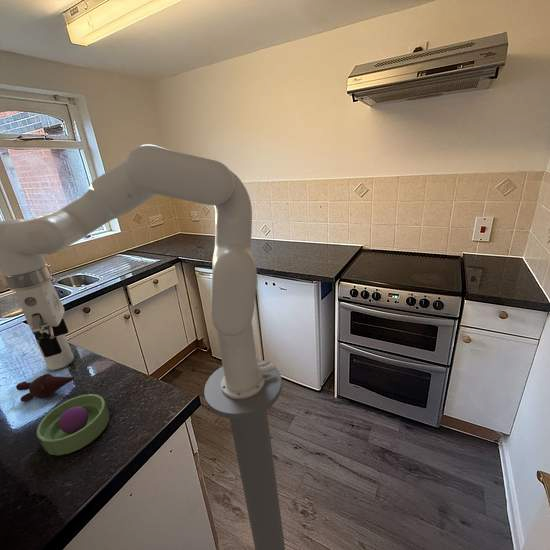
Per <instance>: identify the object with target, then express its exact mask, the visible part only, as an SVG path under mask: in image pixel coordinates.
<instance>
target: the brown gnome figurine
mask: <svg viewBox="0 0 550 550" xmlns="http://www.w3.org/2000/svg"><path fill="white" fill-rule="evenodd" d="M73 380H75V377H73V376H55V375H51V373H44V374H43V375H39V376H38V377H36V378H35V379H34V380H32V381H31V382H27V381H22V382H19V383H17V384H16V386H15V388H16V390H17V391H20V392H21V391H29V392H28V393H24V395H22V396H20V402H22V403H26V402H29V401H31V400H33V399H34V398H36V399H46V398H47V399H48V398H51V397H53V396H54V394H55V392H56V391H58V390H60V389H61V388H62V387H64V386H65V385H67V384H69V383H70V382H72V381H73Z"/></svg>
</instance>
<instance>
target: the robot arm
mask: <svg viewBox="0 0 550 550" xmlns="http://www.w3.org/2000/svg"><path fill="white" fill-rule="evenodd" d="M157 195H159V196H163V197H166V198H171V199H177V200H182V201H185V202H192V203H196V204H201V205H207V206H213V207H214V211H215V213H214V214H215V218H214V219H215V222H214V226H215V232H214V233H215V234H214V235H215V236H214V248H213V249H214V250H213V254H212V261H211V264H212V265H211V267H212V281H211V283H212V284H211V292H210V296H209V297H210V299H209V306H210V308H209V309H210V320H211V324H212V326H213V327H214V328H215V331H216V338H217V343H218V344H217V345H218V348H219V354H220V358H221V364H222V366H223V370H224V375H225V376H224V377H223V378H222V381H221V389H222V392H223V393H224V394H225V395H226V396H228V397H229V398H233V399H245V398H249V397H251V396H253V395H255V394H257V393H258V392H259V391H260V390H261V389H262V388H263V386H264V383H265V377H264V375H265V373H266V372H270V371H273V370H274V366H275V365H274V363H271V364H269V365H267V363H266V361H267V360H264V362H262V363H259V364H258V363H257V359H258V358H257V352H256V344H255V338H254V328H253V323H252V321H253V317H254V312H255V303H256V291H257V282H258V270H257V264H256V260H255V258H254V256H253V253H252V236H253V235H252V233H253V232H252V230H253V229H252V228H253V225H252V224H253V207H252V202H251V198H250V194H249V192H248V190H247V188H246V185H244V183H243V181H242V180H241V179H240V177H239V176H238V175H237V174H235V172H233V171H232V170H231V169H230V168H229V167H228V166H227V165H225V164H224V163H223V162H221V161H219V160H215V159H210V158H206V157H201V156H197V155H193V154H188V153H185V152H181V151H178V150H177V151H176V150H173V149H169V148H165V147H162V146H159V145H156V144H151V143H147V144H141V145H139V146H136V147H135V148H134V149H132V150H131V151H130V152H129V154H128V156H127V158H126V160H124V161H122V162H121V163H119V164H117V165H116V166H115V167H113V168H111V169H110V170H107V171H106V172H104V173H103V174H101V175H99V176H98V177H96V178H95V179H94V180H92V182H91V183H90V186H89V189H88V190H87V191H86V192H85V193H84V194H83V195H81V196H79V197H78V198H76V199H75V200H74V201H72V202H70V203H69V204H67V205H66V206H64V207H62V208H60V209H58V210H56V211H53V212H49V213H46V214H44V215H41V216H37V217H33V218H31V219H23V218H15V219H7V220H0V271H1V272H2V275H3V277H4V279H5V281H6V284H7V286H8V288H9V290H10V291H11V292H15V294H16V298H17V300H18V303H19V306H20V308H21V311H22V314H23V315H24V317H25V320H26V323H27V325H28V327H29V328H30V330H31V333H32V334H33V335H34V339H35V338H36V339H37V342H38V343H39V345H40V348H41V350H42V352H43V354H44V356H45V357H50V356H53V355H56V354H60V353H61V352H62V350H61V347H60V345H59V343H58V340H57V338H56V336H60V335H63V334H65V335H66V334H67V335H68V333H69V329H68V327H67V324H66V321H65V318H63V317H64V315H65V307H64V305H63V303H62V300H61V298H60V296H59V294H58V291H57V290H56V288H55V285H54V284H53V281H52V280H53V277H52V275H51V271H50V268H49V266H48V264H47V261H46V259H45V256H44V255H53V254H57V253H59V252H61V251H64V249H66V248H68V247H70V246H71V245H73V244H75V243H77V242H79V241H80V240H82V239H83V238H84V237H86V236H88V235H89V234H91V233H93V232H94V231H96V230H98V229H99V228H101V227H102V226H104V225H106V224H107V223H110V221H111V222H112V221H113V220H115V219H119V218H121V217H123V216H125V215H126V214H128V213H130V212H131V211H133V210H134V209H136V208H138V207H139V206H141V205H143V204H144V203H145V202H147V201H149V200H150V199H152V198H154V197H155V196H157ZM47 324H48V326H44V327H42V326H43V325H47ZM45 330H48V333H49V334H47V333H46V332H43V331H45ZM36 339H35V340H36ZM37 342H36V343H37ZM264 366H265V367H264Z"/></svg>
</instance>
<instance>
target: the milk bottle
mask: <svg viewBox="0 0 550 550" xmlns="http://www.w3.org/2000/svg"><path fill="white" fill-rule="evenodd" d="M44 326H48V324H47V325H43V326H42V327H44ZM43 332H46V333H47V334H49V333H48V330H45V331H43ZM56 338H57V340H58V343H59V345H60V347H61V350H62V352H61V353H60V354H56V355H53V356H50V357H45V356H44V354H43V352H42V350H41V348H40V345H39V343H38V342H37V339H36V338H35V337H34V339H35V342H36V344H37V347H38V349H39V351H40V353H41V356H42V359H43V360H44V363H45V364H46V367H47V368H48V369H49V370H52V371H53V370H61V369H62V368H65V367H67V366H69V365H70V364H71V363H73V361H74V358H75V356H74V354H73V351H72V349H71V346H70V344H69V340H68V339H67V336H66V334H63V335H60V336H56Z"/></svg>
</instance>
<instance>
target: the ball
mask: <svg viewBox="0 0 550 550" xmlns="http://www.w3.org/2000/svg"><path fill="white" fill-rule="evenodd" d="M87 421H88V413H87V411H86V410H85V409H84V408H82V407H72V408H69V409H68V410H66V411H65V412H64V413H63V414H62V416H61V417H60V420H59V426H60V429H61V430H62V431H63V432H65V433H69V434H71V433H75V432H77V431H79V430H81V429H82V428H84V426H85V425H86V424H87Z"/></svg>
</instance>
